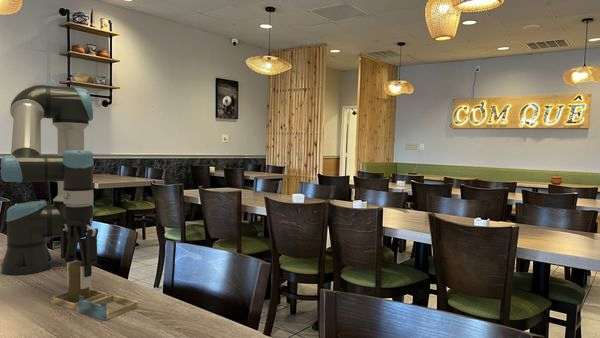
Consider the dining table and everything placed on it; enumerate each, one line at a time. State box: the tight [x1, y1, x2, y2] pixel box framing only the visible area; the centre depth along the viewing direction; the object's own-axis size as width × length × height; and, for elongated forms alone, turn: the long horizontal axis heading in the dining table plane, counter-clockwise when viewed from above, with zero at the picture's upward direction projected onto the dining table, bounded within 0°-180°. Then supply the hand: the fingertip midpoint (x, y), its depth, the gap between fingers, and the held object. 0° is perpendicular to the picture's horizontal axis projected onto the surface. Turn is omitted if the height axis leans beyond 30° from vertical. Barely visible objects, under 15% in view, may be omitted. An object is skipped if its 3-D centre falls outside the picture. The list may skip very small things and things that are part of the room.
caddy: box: [49, 288, 139, 321], centre depth 118 cm, size 23×11×4 cm, turn 63°
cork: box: [66, 261, 91, 303], centre depth 121 cm, size 6×6×11 cm
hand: (78, 285), depth 121 cm, fingers closed on cork, 5 cm apart
